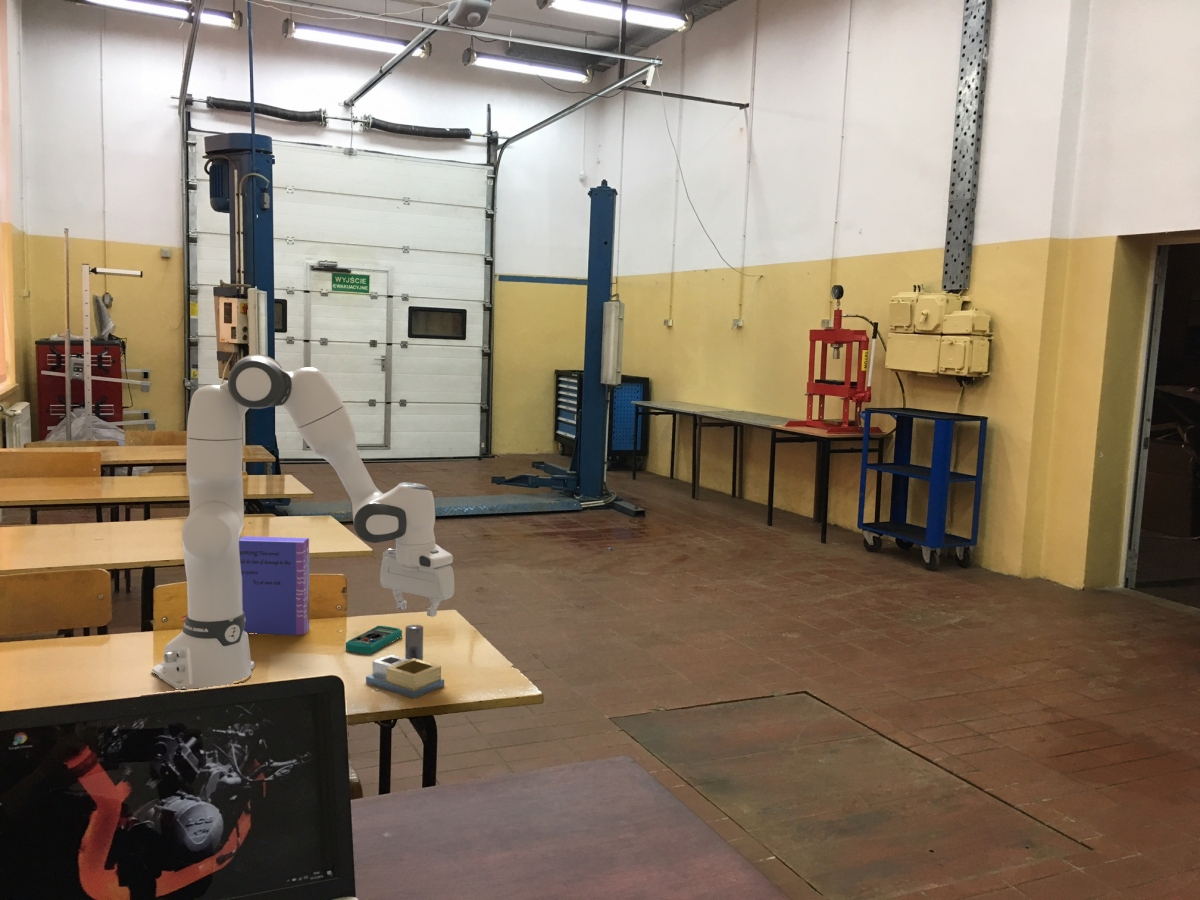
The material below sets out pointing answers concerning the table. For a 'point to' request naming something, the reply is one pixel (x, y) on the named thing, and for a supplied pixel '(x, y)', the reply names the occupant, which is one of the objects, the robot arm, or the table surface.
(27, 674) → the table surface
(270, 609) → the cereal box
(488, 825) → the table surface
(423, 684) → the desk organizer
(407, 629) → the cylinder
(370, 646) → the digital multimeter
